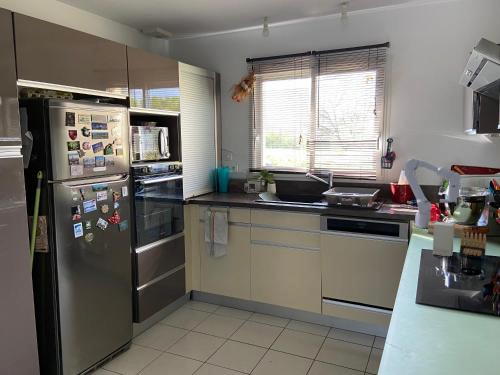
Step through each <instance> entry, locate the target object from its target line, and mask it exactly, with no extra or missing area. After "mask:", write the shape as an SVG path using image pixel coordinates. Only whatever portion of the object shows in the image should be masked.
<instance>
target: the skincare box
mask: <svg viewBox="0 0 500 375" xmlns="http://www.w3.org/2000/svg"><path fill="white" fill-rule="evenodd" d="M442 222H443V221H437V222H436V223H435V224H434V234H432V236H433V238H432V240H433V241H432V255H433V254H437V255H444V256H453V255H454V237H455V236H454V224H453V223H454V222H447V223H442Z"/></svg>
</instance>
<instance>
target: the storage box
mask: <svg viewBox="0 0 500 375" xmlns="http://www.w3.org/2000/svg"><path fill="white" fill-rule="evenodd" d="M463 231H464V229H463V230H459V229H454V237H458V238H459V237H462V233H463ZM427 234H431V235H433V234H434V227H428V228H427Z"/></svg>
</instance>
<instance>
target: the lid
mask: <svg viewBox="0 0 500 375" xmlns="http://www.w3.org/2000/svg"><path fill="white" fill-rule="evenodd" d="M436 222H438V221H435V220H430V221H429V223H428V227H434V224H435V223H436ZM441 222H442V223H448V222H446V221H445V222H444V221H441ZM452 223H453V224H454V223H455V222H452ZM458 224H459V223H458ZM458 224H454V229H459V230H463V231H464V227H463V224H462V225H458Z"/></svg>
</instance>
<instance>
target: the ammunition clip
mask: <svg viewBox="0 0 500 375" xmlns="http://www.w3.org/2000/svg"><path fill="white" fill-rule="evenodd" d="M482 235H483V237H482ZM459 246H460V247H459V254H461V255H474V256H476V255H477V256H482V257H485V258H486V251H487V250H486V248H487V235H486V233H484V234H482V232H480V233H479V235H478V233H477V232H475V234H474V232H471V233H469V231H467V232H466V233H465V231H464V230H463V233H462V237H461V238H460V245H459Z"/></svg>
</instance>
